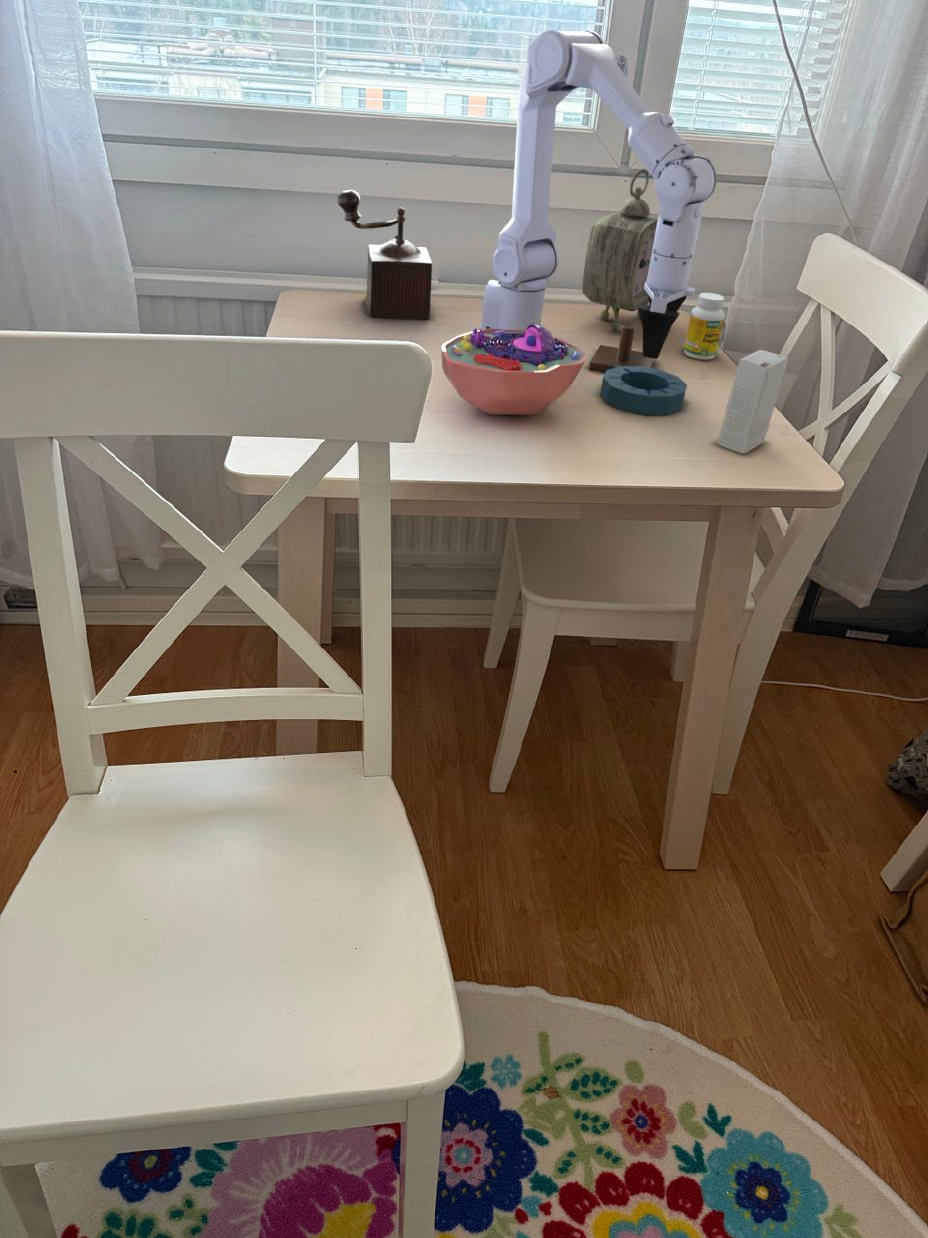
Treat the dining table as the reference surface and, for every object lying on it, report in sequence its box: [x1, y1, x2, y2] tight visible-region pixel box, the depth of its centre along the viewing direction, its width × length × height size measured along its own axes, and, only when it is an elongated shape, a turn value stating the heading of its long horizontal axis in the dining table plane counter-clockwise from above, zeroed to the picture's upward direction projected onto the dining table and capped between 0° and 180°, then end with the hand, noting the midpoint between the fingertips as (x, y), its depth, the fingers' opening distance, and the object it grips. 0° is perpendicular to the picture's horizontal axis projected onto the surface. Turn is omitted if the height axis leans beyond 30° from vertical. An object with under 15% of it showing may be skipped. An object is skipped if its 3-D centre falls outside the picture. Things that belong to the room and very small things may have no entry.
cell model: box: [440, 324, 588, 416], centre depth 131 cm, size 17×20×11 cm
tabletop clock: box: [581, 168, 658, 333], centre depth 165 cm, size 14×9×25 cm, turn 148°
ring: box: [599, 366, 688, 416], centre depth 141 cm, size 12×12×3 cm
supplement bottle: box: [683, 292, 726, 361], centre depth 158 cm, size 5×5×10 cm
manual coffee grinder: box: [336, 189, 433, 320], centre depth 162 cm, size 16×11×18 cm
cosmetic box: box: [717, 349, 789, 455], centre depth 127 cm, size 6×4×12 cm
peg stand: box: [588, 324, 656, 373], centre depth 151 cm, size 9×9×6 cm
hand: (654, 349), depth 142 cm, fingers open, 7 cm apart
